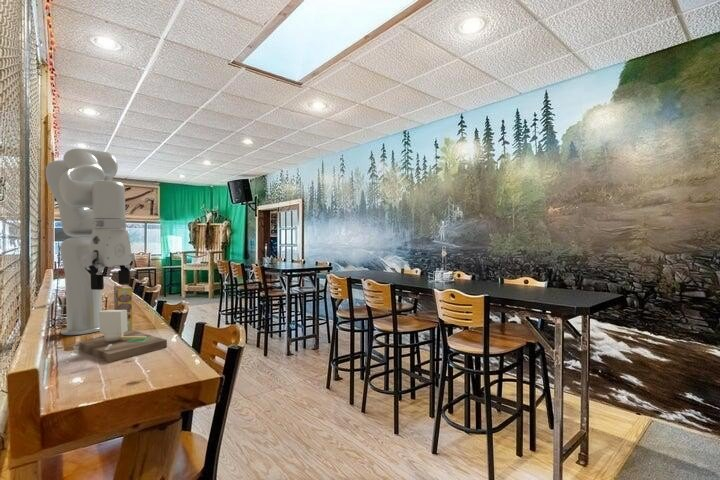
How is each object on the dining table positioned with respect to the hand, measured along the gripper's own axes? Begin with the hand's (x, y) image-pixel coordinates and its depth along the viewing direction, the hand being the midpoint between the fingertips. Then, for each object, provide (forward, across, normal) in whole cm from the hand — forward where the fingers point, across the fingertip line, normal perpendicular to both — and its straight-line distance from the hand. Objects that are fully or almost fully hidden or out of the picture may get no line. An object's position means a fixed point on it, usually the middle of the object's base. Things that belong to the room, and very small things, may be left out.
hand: (111, 286), depth 101 cm
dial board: (+17, -1, -4) cm, 17 cm away
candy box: (+18, +13, +7) cm, 23 cm away
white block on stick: (+15, -1, -4) cm, 15 cm away
